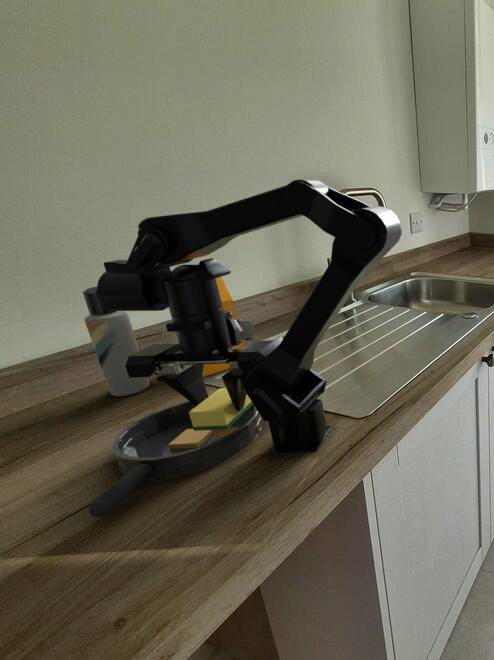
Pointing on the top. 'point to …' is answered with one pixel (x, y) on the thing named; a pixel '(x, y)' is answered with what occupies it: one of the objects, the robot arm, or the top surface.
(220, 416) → the sponge
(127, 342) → the lotion bottle
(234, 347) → the orange juice
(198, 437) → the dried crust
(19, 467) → the top surface
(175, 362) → the robot arm
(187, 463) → the pan
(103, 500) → the pan handle
